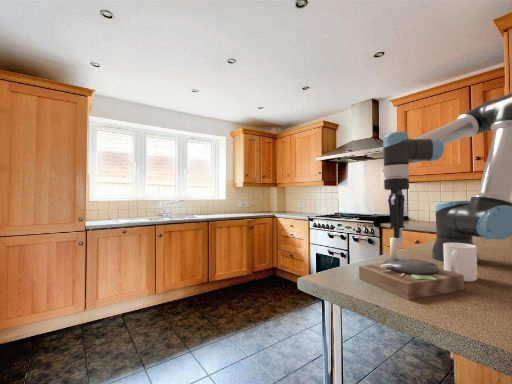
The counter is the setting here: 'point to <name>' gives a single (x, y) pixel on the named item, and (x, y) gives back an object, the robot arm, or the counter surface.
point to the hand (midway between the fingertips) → (397, 247)
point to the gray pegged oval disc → (407, 263)
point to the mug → (461, 260)
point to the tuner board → (411, 281)
